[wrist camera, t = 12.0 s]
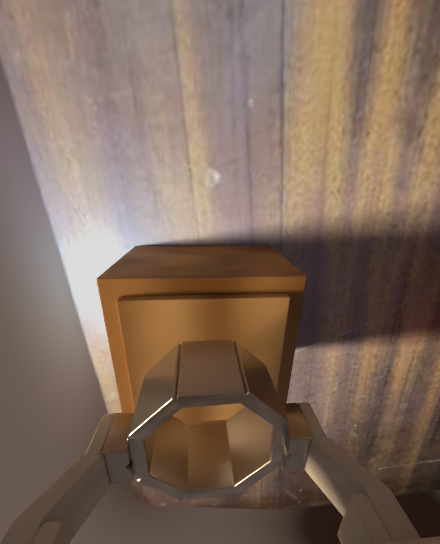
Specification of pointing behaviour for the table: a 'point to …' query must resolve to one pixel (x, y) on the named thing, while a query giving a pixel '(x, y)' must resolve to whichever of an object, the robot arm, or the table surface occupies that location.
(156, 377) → the silver octagonal cup
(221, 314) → the cork coaster
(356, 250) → the table surface
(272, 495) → the table surface
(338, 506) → the robot arm
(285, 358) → the oak stand
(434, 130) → the table surface
